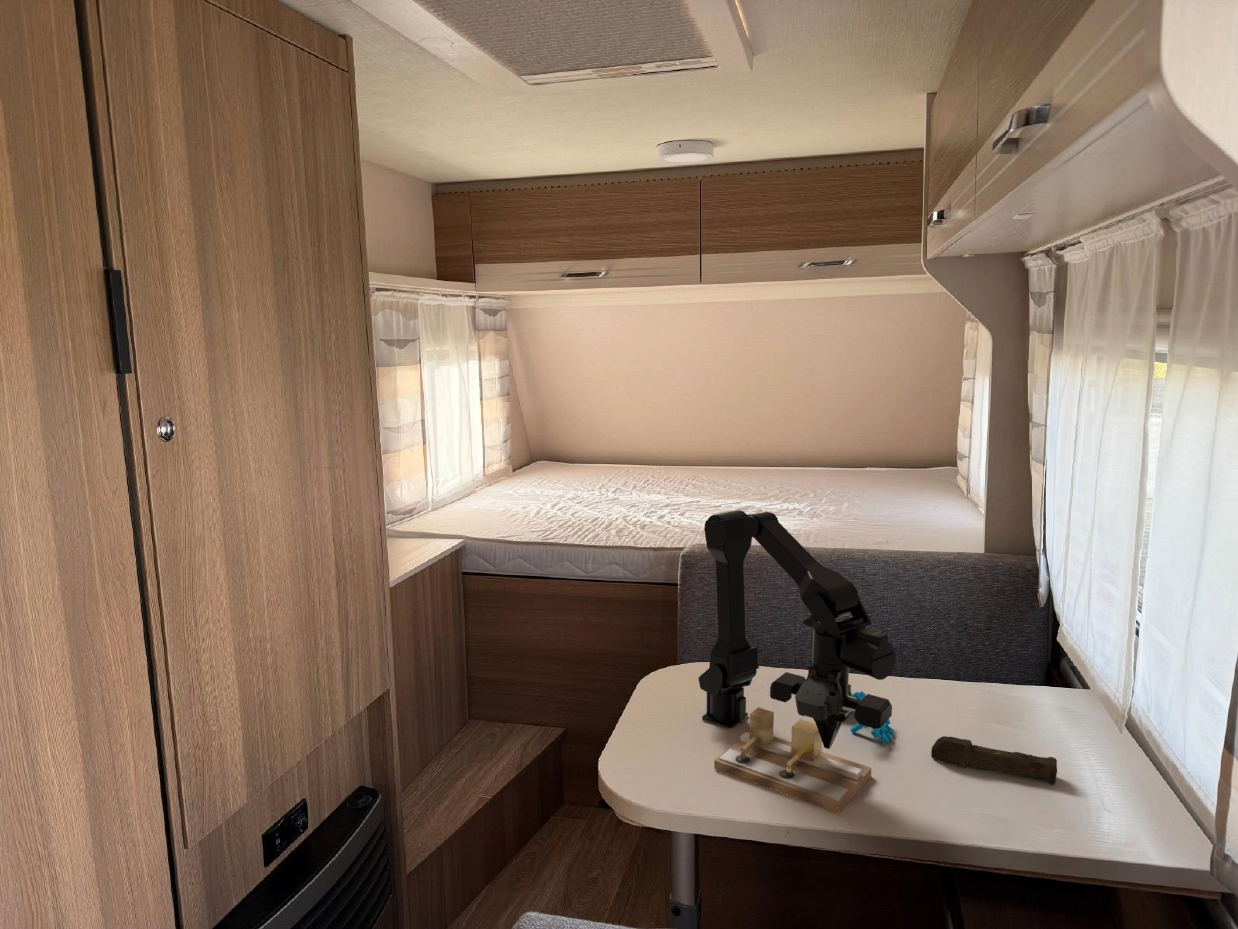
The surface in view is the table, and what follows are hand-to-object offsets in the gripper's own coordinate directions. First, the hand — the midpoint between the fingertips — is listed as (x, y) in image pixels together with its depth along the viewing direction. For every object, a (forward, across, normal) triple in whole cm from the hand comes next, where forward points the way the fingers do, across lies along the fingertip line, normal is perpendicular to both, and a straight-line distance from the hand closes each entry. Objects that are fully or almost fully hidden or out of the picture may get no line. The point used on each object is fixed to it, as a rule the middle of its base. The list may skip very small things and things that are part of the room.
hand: (827, 747), depth 139 cm
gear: (+5, +1, +18) cm, 18 cm away
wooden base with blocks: (+5, -5, -2) cm, 7 cm away
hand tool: (+5, +22, +17) cm, 28 cm away
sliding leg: (+3, -4, -3) cm, 5 cm away
